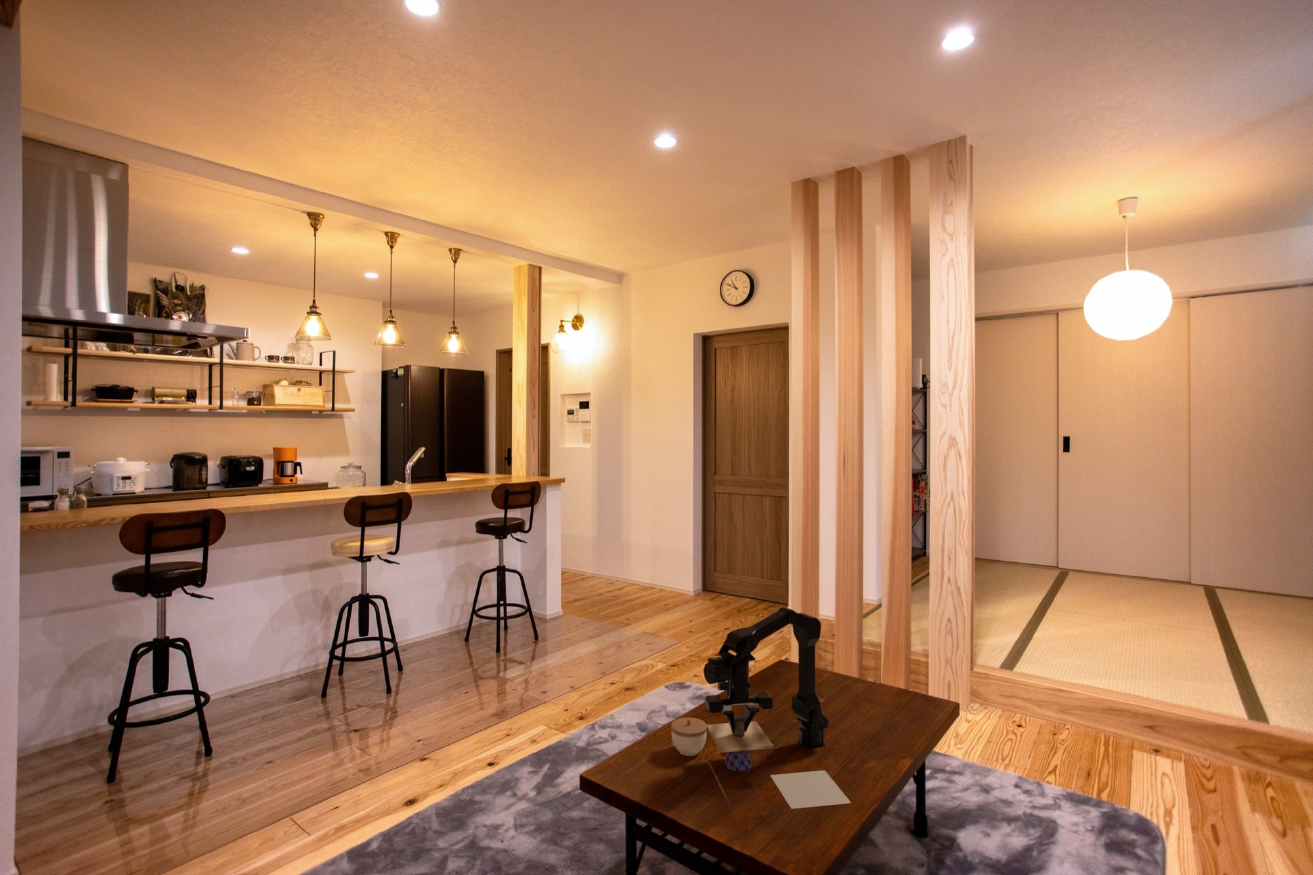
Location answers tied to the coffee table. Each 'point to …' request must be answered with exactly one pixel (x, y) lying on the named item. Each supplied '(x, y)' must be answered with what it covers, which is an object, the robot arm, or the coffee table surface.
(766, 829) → the coffee table surface
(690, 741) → the lidded jar
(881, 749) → the coffee table surface
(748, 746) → the lid
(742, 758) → the purple round dome
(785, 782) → the mat
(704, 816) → the coffee table surface
